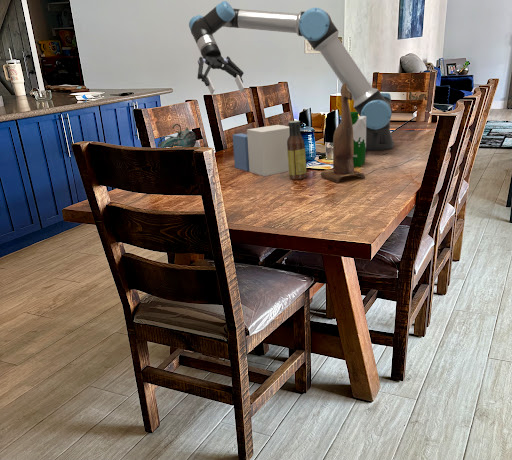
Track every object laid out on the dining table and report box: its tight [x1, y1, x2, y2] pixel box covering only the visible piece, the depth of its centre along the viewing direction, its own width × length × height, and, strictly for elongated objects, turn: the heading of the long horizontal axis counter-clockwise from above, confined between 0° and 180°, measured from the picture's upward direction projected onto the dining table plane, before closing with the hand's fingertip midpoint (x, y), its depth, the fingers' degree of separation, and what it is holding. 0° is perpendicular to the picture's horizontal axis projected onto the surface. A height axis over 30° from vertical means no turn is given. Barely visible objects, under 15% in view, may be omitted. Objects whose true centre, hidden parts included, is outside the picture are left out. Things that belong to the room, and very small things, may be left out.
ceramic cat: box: [157, 123, 197, 148], centre depth 186 cm, size 20×6×20 cm, turn 145°
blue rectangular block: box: [232, 133, 250, 172], centre depth 198 cm, size 9×4×13 cm, turn 33°
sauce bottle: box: [287, 120, 308, 180], centre depth 177 cm, size 7×6×20 cm
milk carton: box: [350, 111, 367, 168], centre depth 191 cm, size 9×9×20 cm
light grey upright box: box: [246, 124, 290, 177], centre depth 196 cm, size 22×16×16 cm
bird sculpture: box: [320, 83, 366, 184], centre depth 171 cm, size 11×12×32 cm
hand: (228, 91), depth 202 cm, fingers open, 13 cm apart
